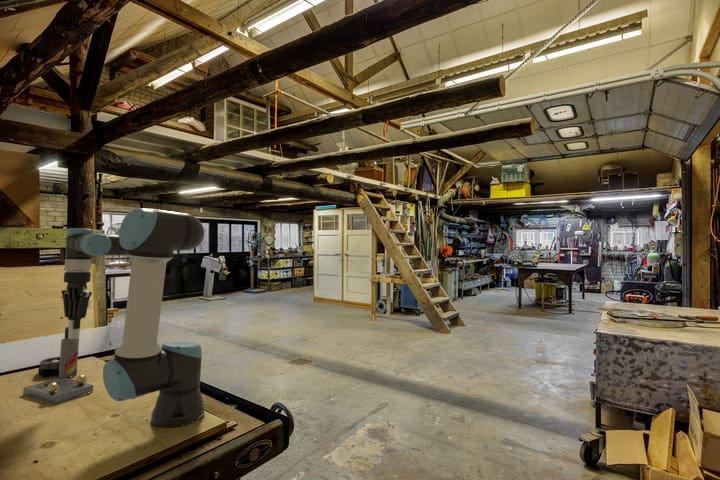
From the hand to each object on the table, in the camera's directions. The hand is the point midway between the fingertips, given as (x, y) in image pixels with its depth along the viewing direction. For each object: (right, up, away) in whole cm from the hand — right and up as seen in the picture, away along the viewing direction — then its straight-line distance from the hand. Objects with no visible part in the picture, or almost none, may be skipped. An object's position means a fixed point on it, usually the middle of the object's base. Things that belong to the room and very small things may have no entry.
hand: (73, 337), depth 127 cm
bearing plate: (-7, -20, +2) cm, 21 cm away
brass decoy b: (-4, -16, -4) cm, 17 cm away
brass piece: (-1, -17, +4) cm, 17 cm away
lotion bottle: (-17, -21, +18) cm, 33 cm away
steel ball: (-10, -19, +3) cm, 21 cm away
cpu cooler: (-25, -21, +22) cm, 39 cm away
